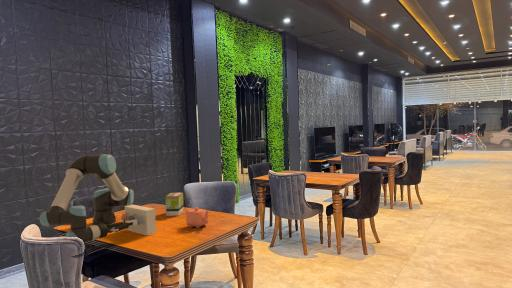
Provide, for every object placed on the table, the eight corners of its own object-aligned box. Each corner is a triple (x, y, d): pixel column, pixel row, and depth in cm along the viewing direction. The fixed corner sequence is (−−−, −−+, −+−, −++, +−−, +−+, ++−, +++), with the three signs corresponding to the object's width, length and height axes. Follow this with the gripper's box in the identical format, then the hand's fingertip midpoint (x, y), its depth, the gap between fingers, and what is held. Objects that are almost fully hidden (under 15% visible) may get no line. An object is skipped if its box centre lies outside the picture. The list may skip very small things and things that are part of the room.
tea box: (179, 215, 261) (178, 195, 260) (165, 216, 261) (164, 196, 261) (184, 211, 276) (183, 191, 275) (171, 211, 276) (170, 192, 276)
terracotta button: (121, 220, 225) (121, 213, 225) (124, 220, 226) (123, 213, 226) (125, 221, 222) (125, 214, 222) (127, 221, 223) (127, 214, 223)
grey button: (128, 222, 220) (128, 215, 219) (131, 221, 221) (130, 214, 221) (132, 223, 217) (132, 216, 217) (135, 222, 218) (134, 215, 218)
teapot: (180, 227, 230) (179, 208, 229) (192, 222, 240) (191, 204, 239) (204, 230, 219) (203, 211, 219) (216, 225, 229) (215, 207, 229)
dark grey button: (135, 224, 215) (135, 217, 214) (138, 223, 216) (138, 216, 216) (140, 225, 212) (139, 217, 212) (142, 224, 213) (142, 217, 213)
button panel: (125, 229, 229) (124, 206, 228) (134, 227, 234) (133, 204, 233) (147, 235, 214) (146, 210, 213) (156, 233, 218) (154, 208, 218)
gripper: (92, 236, 198) (131, 226, 216) (104, 240, 190) (143, 229, 208) (91, 223, 198) (130, 214, 216) (103, 226, 190) (142, 216, 208)
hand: (136, 221), depth 212 cm, fingers closed
